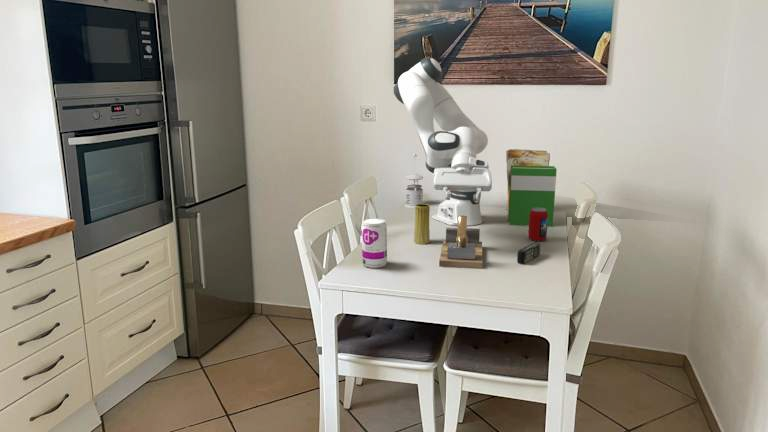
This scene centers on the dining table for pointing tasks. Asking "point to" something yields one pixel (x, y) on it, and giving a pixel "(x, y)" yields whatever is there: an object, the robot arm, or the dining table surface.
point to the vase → (422, 224)
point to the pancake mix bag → (525, 161)
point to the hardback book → (531, 192)
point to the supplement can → (374, 243)
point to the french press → (413, 195)
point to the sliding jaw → (461, 243)
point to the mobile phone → (528, 253)
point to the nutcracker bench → (461, 261)
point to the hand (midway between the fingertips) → (461, 199)
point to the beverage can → (538, 224)
